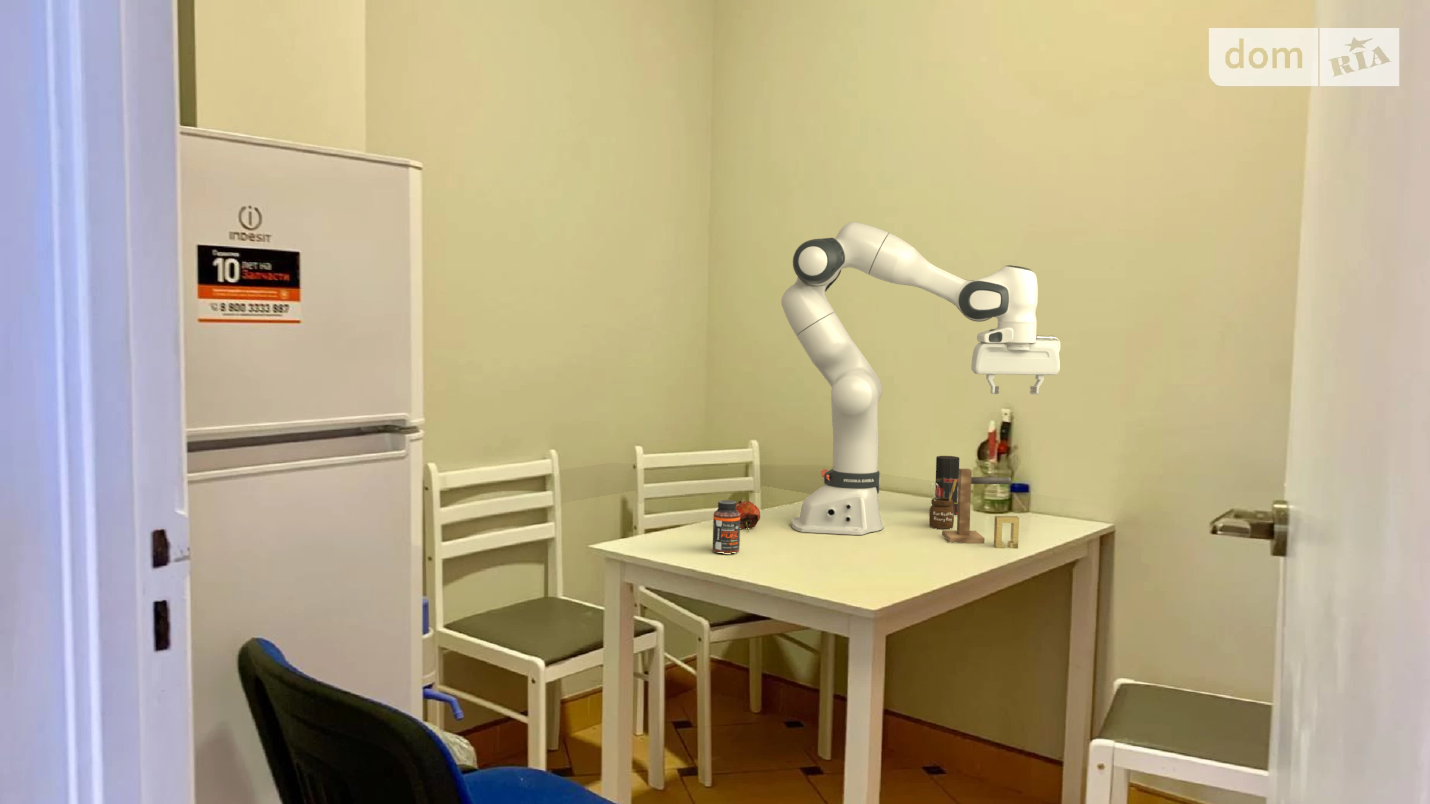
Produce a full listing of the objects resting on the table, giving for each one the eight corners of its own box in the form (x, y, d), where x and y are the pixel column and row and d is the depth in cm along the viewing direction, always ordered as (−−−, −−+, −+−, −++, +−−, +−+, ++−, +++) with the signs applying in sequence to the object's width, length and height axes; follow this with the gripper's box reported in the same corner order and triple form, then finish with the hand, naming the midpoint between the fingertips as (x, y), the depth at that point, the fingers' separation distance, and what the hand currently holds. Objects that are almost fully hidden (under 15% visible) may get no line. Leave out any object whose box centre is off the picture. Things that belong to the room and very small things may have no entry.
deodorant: (959, 516, 268) (961, 459, 267) (937, 515, 268) (938, 458, 267) (954, 511, 274) (956, 455, 272) (932, 511, 274) (934, 455, 273)
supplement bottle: (720, 556, 222) (721, 504, 221) (707, 550, 227) (708, 500, 226) (744, 553, 224) (745, 502, 223) (731, 547, 230) (732, 498, 229)
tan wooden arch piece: (993, 545, 235) (994, 515, 234) (1015, 546, 235) (1016, 516, 234) (996, 547, 233) (997, 517, 232) (1018, 548, 233) (1019, 517, 232)
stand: (949, 542, 237) (952, 471, 236) (942, 535, 245) (944, 466, 243) (1012, 543, 237) (1015, 472, 236) (1002, 535, 245) (1005, 467, 244)
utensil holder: (926, 524, 257) (928, 477, 256) (951, 524, 257) (953, 477, 256) (931, 529, 251) (933, 481, 250) (957, 530, 251) (959, 481, 250)
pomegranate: (763, 540, 247) (758, 509, 255) (762, 520, 242) (757, 489, 250) (732, 543, 247) (728, 512, 254) (731, 524, 242) (727, 492, 249)
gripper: (1056, 335, 244) (1053, 393, 245) (970, 334, 244) (968, 392, 245) (1065, 336, 238) (1062, 395, 239) (977, 335, 237) (975, 394, 239)
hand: (1014, 393), depth 242 cm, fingers open, 8 cm apart
